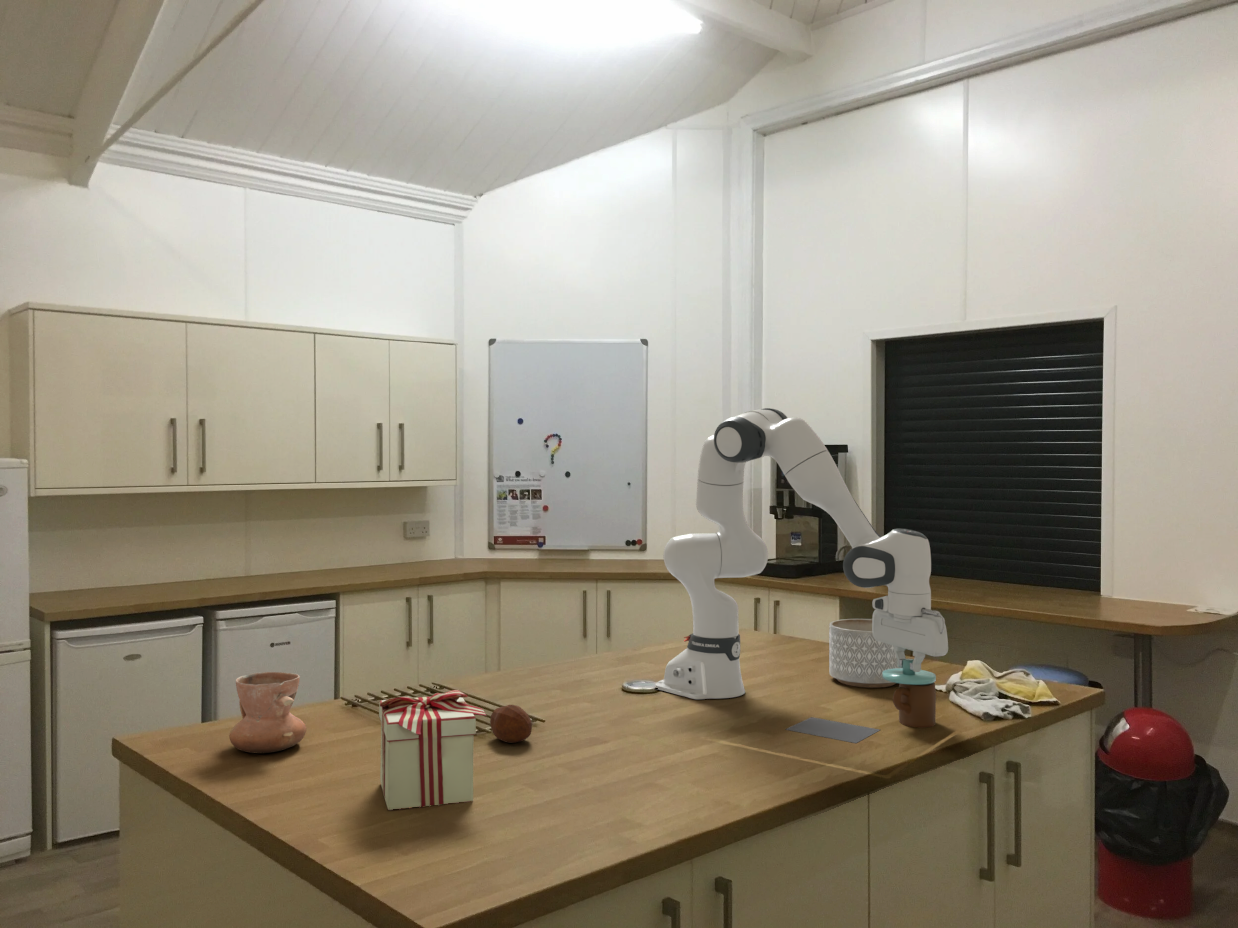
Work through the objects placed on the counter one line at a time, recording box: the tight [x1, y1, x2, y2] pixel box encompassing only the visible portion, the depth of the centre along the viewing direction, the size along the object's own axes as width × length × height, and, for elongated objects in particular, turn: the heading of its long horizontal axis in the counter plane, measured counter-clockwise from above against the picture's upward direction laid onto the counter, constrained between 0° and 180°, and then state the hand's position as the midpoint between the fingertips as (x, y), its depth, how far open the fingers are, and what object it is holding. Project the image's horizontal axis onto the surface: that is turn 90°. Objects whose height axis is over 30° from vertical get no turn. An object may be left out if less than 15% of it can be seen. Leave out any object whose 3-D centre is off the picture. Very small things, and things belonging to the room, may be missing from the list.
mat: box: [785, 716, 881, 744], centre depth 209 cm, size 16×12×1 cm
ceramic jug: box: [228, 671, 307, 754], centre depth 199 cm, size 18×14×14 cm
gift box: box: [378, 689, 487, 811], centre depth 171 cm, size 17×18×17 cm
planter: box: [828, 618, 900, 688], centre depth 255 cm, size 19×19×14 cm
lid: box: [882, 658, 937, 685], centre depth 213 cm, size 11×11×4 cm
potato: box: [489, 704, 533, 744], centre depth 203 cm, size 8×11×8 cm
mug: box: [892, 682, 937, 728], centre depth 212 cm, size 12×8×9 cm, turn 130°
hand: (909, 669), depth 213 cm, fingers closed on lid, 3 cm apart
